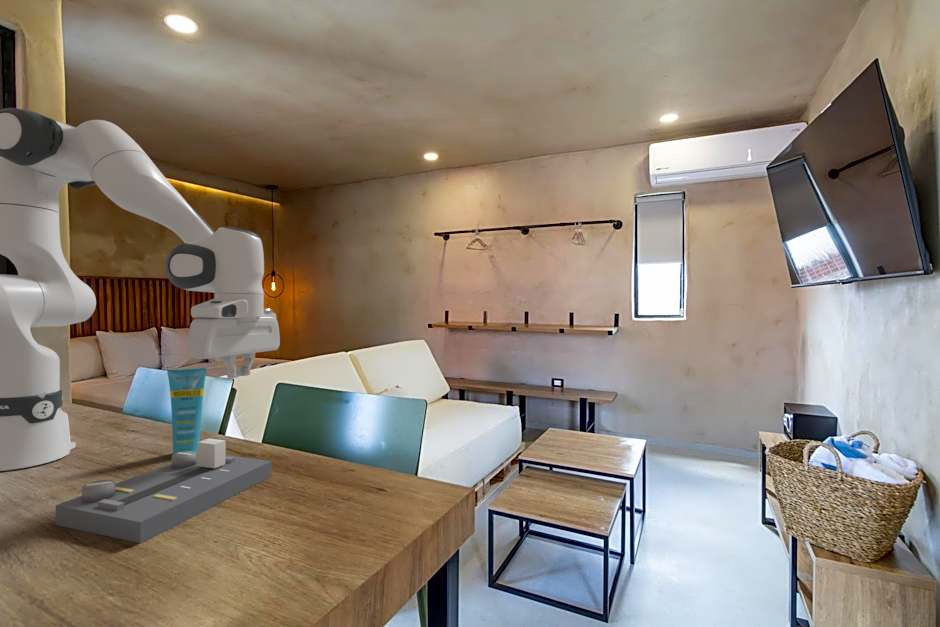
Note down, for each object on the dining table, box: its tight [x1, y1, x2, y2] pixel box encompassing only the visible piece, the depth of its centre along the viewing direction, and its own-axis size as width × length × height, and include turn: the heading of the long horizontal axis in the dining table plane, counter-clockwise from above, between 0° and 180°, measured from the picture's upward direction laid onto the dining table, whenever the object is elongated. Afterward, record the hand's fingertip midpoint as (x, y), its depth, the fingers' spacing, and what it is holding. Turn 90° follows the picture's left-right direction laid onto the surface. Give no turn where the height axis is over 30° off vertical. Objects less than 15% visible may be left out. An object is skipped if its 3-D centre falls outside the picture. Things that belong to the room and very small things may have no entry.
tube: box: [166, 367, 208, 455], centre depth 99 cm, size 7×5×19 cm, turn 123°
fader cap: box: [197, 438, 227, 469], centre depth 84 cm, size 4×2×5 cm, turn 74°
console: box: [55, 451, 273, 544], centre depth 77 cm, size 17×26×5 cm, turn 164°
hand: (238, 376), depth 90 cm, fingers closed
